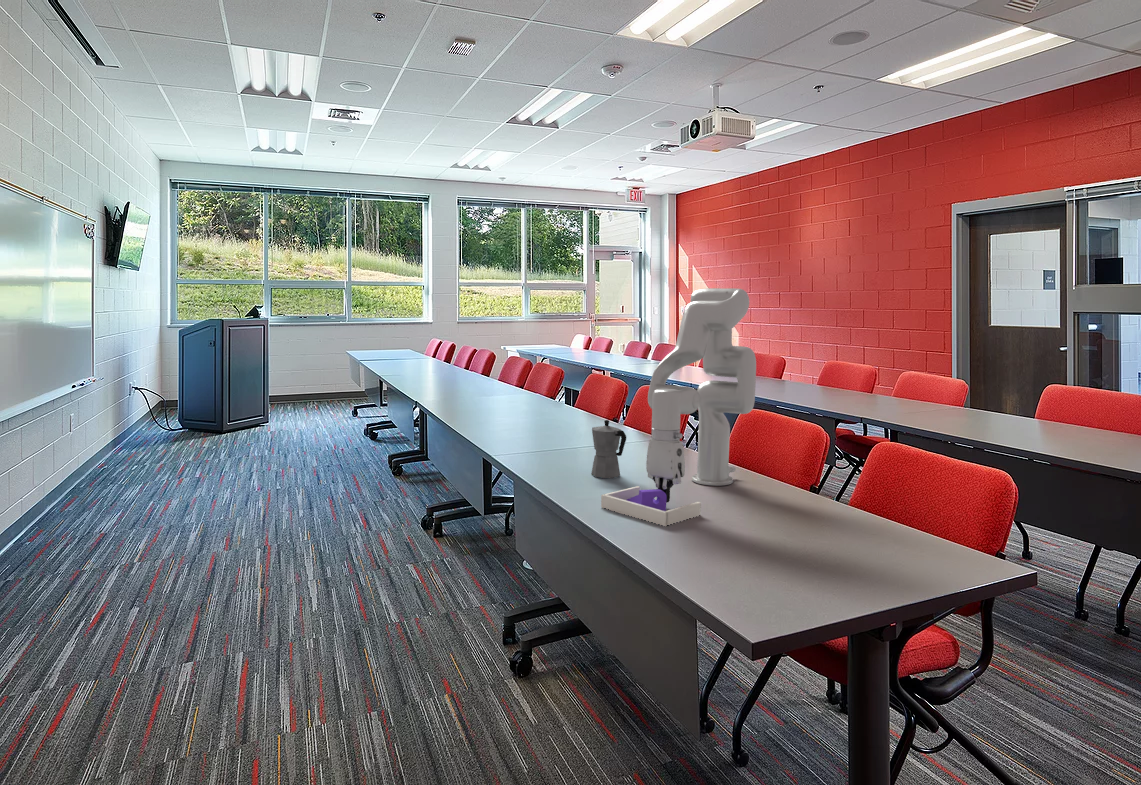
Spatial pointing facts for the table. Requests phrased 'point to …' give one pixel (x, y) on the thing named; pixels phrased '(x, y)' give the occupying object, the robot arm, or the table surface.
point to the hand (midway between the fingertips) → (663, 502)
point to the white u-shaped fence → (647, 508)
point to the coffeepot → (607, 450)
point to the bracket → (651, 499)
